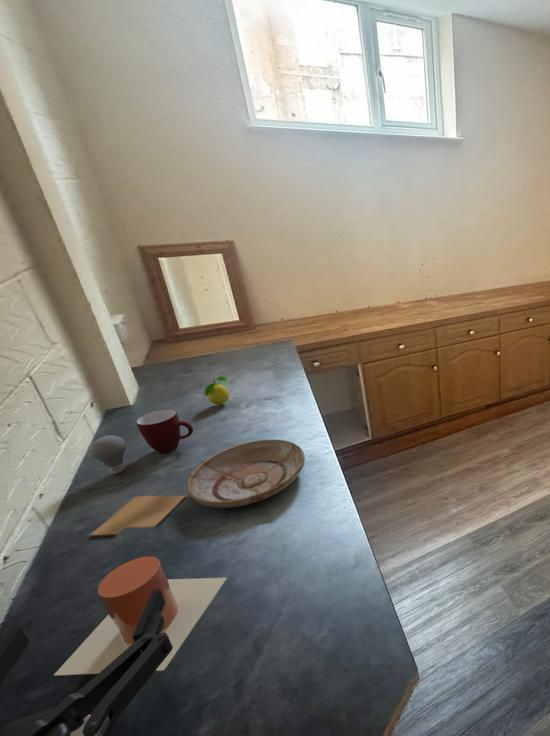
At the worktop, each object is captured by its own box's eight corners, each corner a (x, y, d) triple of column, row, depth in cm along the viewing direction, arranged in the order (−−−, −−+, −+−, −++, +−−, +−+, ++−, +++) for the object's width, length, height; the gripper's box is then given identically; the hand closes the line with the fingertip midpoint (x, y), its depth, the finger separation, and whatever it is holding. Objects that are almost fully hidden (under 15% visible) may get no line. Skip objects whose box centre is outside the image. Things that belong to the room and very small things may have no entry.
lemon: (232, 398, 134) (225, 371, 130) (234, 405, 129) (227, 377, 126) (207, 404, 130) (199, 376, 126) (209, 411, 125) (201, 382, 122)
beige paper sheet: (55, 679, 56) (52, 675, 56) (140, 583, 70) (139, 580, 70) (165, 673, 57) (164, 670, 57) (228, 580, 71) (227, 577, 71)
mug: (199, 435, 113) (190, 404, 109) (195, 450, 107) (185, 417, 103) (152, 445, 108) (140, 413, 104) (144, 461, 102) (132, 428, 98)
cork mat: (90, 536, 79) (89, 534, 79) (135, 498, 90) (135, 496, 89) (148, 535, 80) (147, 533, 80) (186, 497, 90) (186, 495, 90)
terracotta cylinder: (107, 644, 60) (83, 598, 56) (144, 600, 67) (125, 556, 63) (156, 642, 60) (135, 596, 57) (188, 599, 67) (171, 555, 63)
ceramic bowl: (196, 538, 80) (189, 518, 78) (190, 477, 96) (184, 460, 95) (318, 489, 94) (315, 472, 92) (294, 443, 110) (291, 428, 109)
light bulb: (110, 466, 99) (96, 432, 96) (139, 462, 101) (126, 429, 98) (95, 481, 94) (79, 446, 91) (126, 477, 96) (112, 442, 92)
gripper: (-248, 966, 30) (-31, 675, 48) (164, 788, 39) (215, 600, 57) (-322, 926, 27) (-62, 633, 45) (139, 745, 37) (202, 562, 55)
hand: (93, 615), depth 51 cm, fingers open, 13 cm apart
